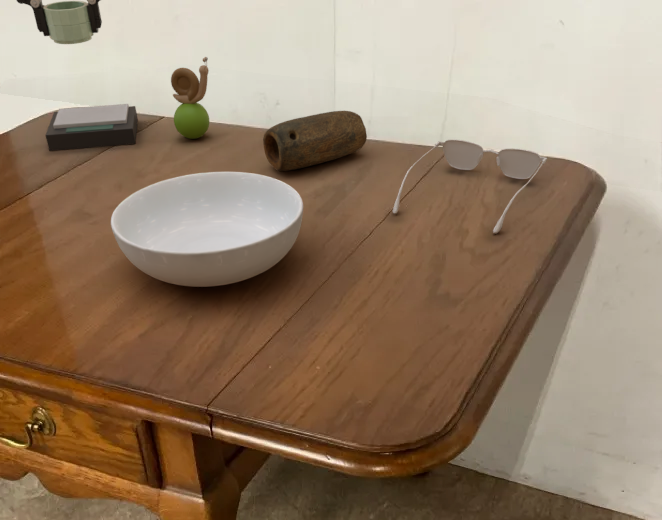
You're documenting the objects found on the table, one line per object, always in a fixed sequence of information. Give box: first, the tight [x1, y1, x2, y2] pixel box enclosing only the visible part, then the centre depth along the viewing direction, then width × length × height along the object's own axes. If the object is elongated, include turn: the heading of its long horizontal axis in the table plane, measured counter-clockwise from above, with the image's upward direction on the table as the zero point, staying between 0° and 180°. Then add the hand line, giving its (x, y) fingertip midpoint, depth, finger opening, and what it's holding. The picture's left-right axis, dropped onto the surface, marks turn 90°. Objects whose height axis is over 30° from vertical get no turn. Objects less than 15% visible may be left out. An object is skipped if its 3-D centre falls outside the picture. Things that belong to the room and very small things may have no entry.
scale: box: [45, 103, 139, 151], centre depth 122 cm, size 13×11×3 cm
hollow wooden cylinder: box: [262, 110, 368, 172], centre depth 110 cm, size 15×7×7 cm, turn 130°
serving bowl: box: [110, 171, 304, 288], centre depth 86 cm, size 21×21×7 cm
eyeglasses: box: [392, 139, 548, 234], centre depth 100 cm, size 15×18×4 cm
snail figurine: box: [170, 56, 210, 140], centre depth 117 cm, size 5×6×12 cm
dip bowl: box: [43, 0, 95, 45], centre depth 111 cm, size 6×6×4 cm
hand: (71, 32), depth 112 cm, fingers closed on dip bowl, 6 cm apart
